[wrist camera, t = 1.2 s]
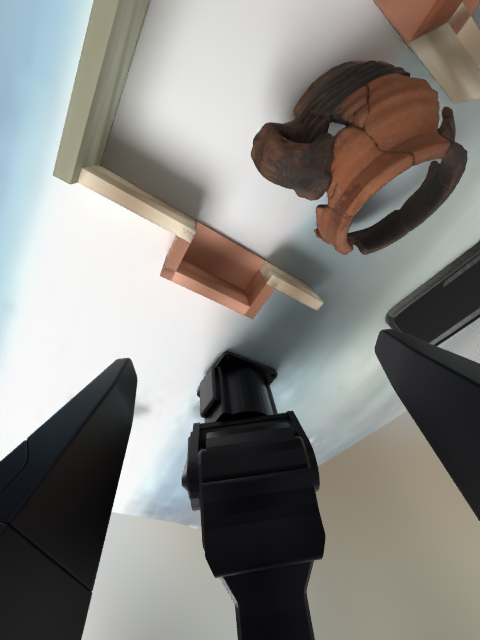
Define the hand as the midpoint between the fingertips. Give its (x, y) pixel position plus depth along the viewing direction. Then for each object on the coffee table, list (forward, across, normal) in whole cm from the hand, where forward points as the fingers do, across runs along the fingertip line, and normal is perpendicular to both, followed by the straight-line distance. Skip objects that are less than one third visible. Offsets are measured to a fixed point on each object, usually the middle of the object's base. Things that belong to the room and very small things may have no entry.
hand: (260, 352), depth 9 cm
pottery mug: (+13, -7, -5) cm, 16 cm away
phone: (+14, -23, +6) cm, 27 cm away
